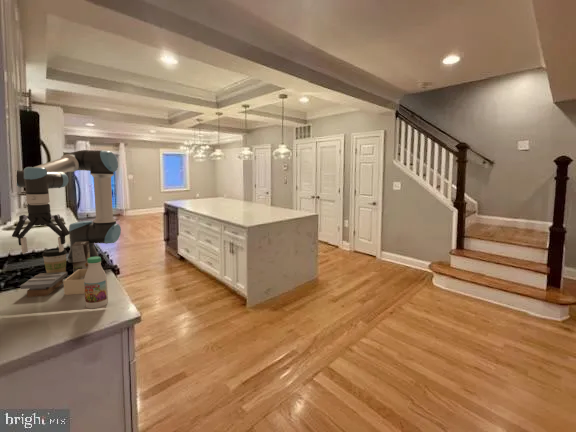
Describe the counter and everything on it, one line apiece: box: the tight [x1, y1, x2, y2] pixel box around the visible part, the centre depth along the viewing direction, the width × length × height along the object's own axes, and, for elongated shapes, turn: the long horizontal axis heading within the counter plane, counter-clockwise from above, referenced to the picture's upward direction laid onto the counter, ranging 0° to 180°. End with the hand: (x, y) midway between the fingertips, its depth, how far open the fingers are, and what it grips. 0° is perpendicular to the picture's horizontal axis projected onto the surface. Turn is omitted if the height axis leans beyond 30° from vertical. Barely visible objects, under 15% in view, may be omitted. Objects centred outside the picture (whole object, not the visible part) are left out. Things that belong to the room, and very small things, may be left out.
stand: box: [26, 278, 64, 298], centre depth 134 cm, size 15×7×4 cm, turn 15°
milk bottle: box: [84, 256, 109, 310], centre depth 121 cm, size 8×8×20 cm
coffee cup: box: [41, 247, 68, 279], centre depth 147 cm, size 10×10×15 cm
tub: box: [62, 269, 88, 296], centre depth 138 cm, size 16×8×7 cm, turn 15°
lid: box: [19, 271, 69, 290], centre depth 134 cm, size 16×11×3 cm
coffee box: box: [72, 241, 90, 273], centre depth 158 cm, size 9×6×16 cm
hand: (43, 251), depth 132 cm, fingers open, 13 cm apart
